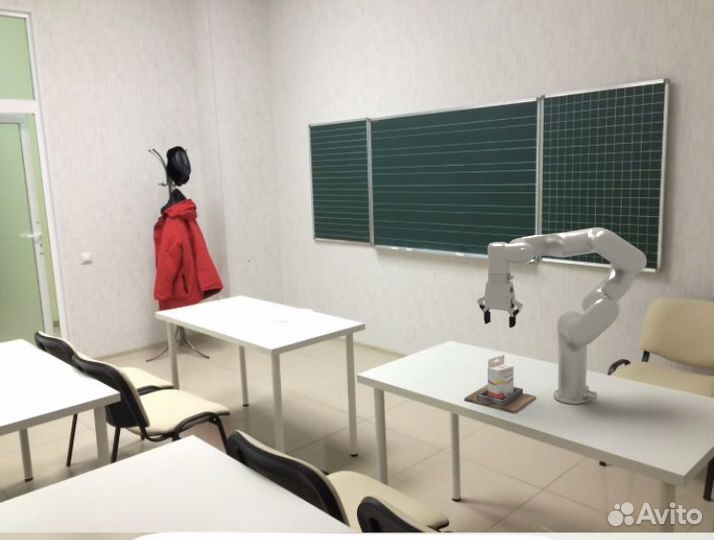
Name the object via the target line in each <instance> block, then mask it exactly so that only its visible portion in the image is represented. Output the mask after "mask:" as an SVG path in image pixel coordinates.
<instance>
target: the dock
mask: <svg viewBox="0 0 714 540" xmlns="http://www.w3.org/2000/svg"><path fill="white" fill-rule="evenodd" d="M536 399H537V396H536V395H533V394H530V393H529V394H528V393H524V388H522V387H517V386H513V394H511V395H510V396H508V397H507V398H505V399H503V400H499V399H495V398H491V397H488V384H486V385H484V386H482V387H481V388H479V389H477V390H475V391H473V392H472V393H470V394H468V395H467V396H465V397H464V401H465V402H469V403H472V404H477V405H481V406H485V407H488V408H491V409H495V410H500V411H503V412H507V413H511V414H514V413H515V414H516V413H518V412H520V411H521V410H522V409H523V408H525V407H526V406H528V405H529V404H531V403H532V402H533V401H535V400H536ZM527 404H528V405H527Z"/></svg>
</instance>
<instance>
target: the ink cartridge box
mask: <svg viewBox="0 0 714 540" xmlns="http://www.w3.org/2000/svg"><path fill="white" fill-rule="evenodd" d="M505 356H506V355H504V354H503V355H499V356H495V357H492V358H489V359H488V361H487V362H488V364H487V385H488V397H491V398H495V399H499V400H503V399H505V398H507V397H508V396H510V395H511V394H513V387H514V374H515V373H514V370H515V369H514V368H515V367H514V366H515V365H512V364H510V363H507V362H505Z"/></svg>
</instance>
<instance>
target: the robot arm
mask: <svg viewBox="0 0 714 540" xmlns="http://www.w3.org/2000/svg"><path fill="white" fill-rule="evenodd" d="M595 253H596V254H598V255H600V256H601V257H602V258H604V259H605V260H607V261H608V262H609V263H610V269H609V271H608V274H607V275H606V277H605V278H604V279H603V280H602V281H601V282H600V283H599V284H598V285H596V286H595V287H594V288H593V289H592V290H591V291H590V292H589V293H587V294H586V295H585V297H584V298H583V299H582V301H581V308H582V310H583V313H580V312H577V311H574V310H568V311H565V312H563V313H562V314H561V315H560V316H559V318H558V320H557V324H556V332H557V342H558V360H557V361H558V362H557V363H558V365H557V366H558V367H557V368H558V372H557V373H558V374H557V378H558V379H557V381H558V382H557V389H556V390H555V391H554V392H553V397H554V399H555V400H557V401H558V402H561V403H564V404H570V405H581V404H587V403H588V402H590V400H592V399H593V400H597V399H598V396H599V395H598V394H597V391H593V390H590V385H587V371H588V370H587V369H588V366H587V363H588V362H587V361H588V360H587V358H588V345H590V344H591V343H592V342H593V343H594V341H595V340H597V339H598V338H599V337H600V336H601V335H602V334H603V333H604V332H605V331H606V330H608V329H609V328H610V327H611V326H612V325H613V324H614V322H616V320H617V319H618V317H619V313H620V306H619V303H618V302H620V300H621V299H622V298H623V297H624V296H625V295H626V294H627V293H628V292H629V291H630V289H631V288H632V286H633V283H634V279H635V275H636V274H637V275H638V274H639V273H641V272H642V271H643V270H645V268H646V266H647V258H646V255H645V253H644V252H643V251H642V250H640V249H638V248H637V247H636V246H634V245H633V244H631V243H630V242H628V241H626V239H624V238H622V237H620V236H619V235H618V234H616V233H615V232H613V231H611V230H609V229H607V228H604V227H591V228H590V227H589V228H583V229H578V230H571V231H566V232H565V231H564V232H563V231H562V232H556V233H549V234H539V235H529V236H523V237H519V238H513V239H512V240H511V241H509V243H508V242H505V241H495V242H490V243H489V244H488V245H487V280H486V284H485V288H484V296H482V297H480V298H478V299H477V300H476V302H477V304H478V307H479V308H480V310H481V312H482V314H483V321H484V324H485V325H488V324H490V323H491V319H492V318H491V311H490V310H498V311H503V312H507V313H508V314H509V317H508V328H511V329H512V328H514V327H515V326H516V324H517V315H518V314H519V313H520V312H522V311H521V310H522V309H523V306H524V305H523V304H522V303H521V302H520V301H518V300H516V292H515V287H514V283H513V281H512V280H514V275H512V274H511V264H517V265H518V264H519V265H524V264H528V263H530V262H531V261H533V259H534V257H538V256H539V257H541V256H542V257H543V256H544V257H546V256H550V257H555V258H568V257H574V256H579V255H581V256H582V255H588V254H595ZM515 308H516V309H515Z"/></svg>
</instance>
